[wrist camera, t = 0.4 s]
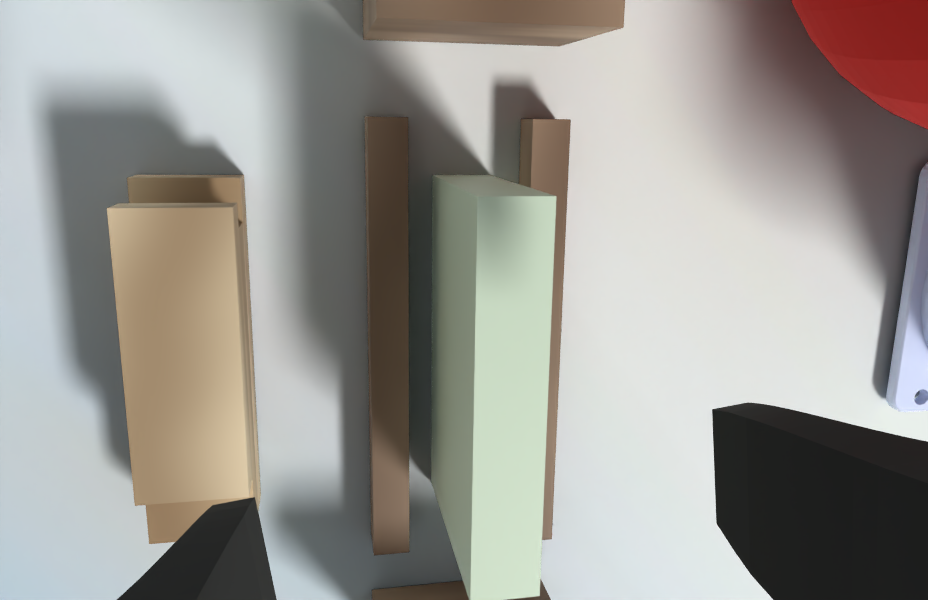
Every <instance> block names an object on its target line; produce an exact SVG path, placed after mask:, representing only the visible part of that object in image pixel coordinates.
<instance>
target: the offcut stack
mask: <svg viewBox="0 0 928 600" xmlns="http://www.w3.org/2000/svg"><path fill="white" fill-rule="evenodd" d="M127 184H128V196H129V203H118V204H116V205H113V206H111V207H109V208H107V215H108V226H109V237H110V247H111V258H112V268H113V279H114V290H115V300H116V311H117V321H118V332H119V343H120V353H121V364H122V374H123V385H124V396H125V406H126V417H127V427H128V438H129V449H130V459H131V470H132V480H133V491H134V501H135V506H138V505H146V513H147V524H148V535H149V544H155V543H167V542H176V541H177V540H178V539H179V538H180V537H181V536H182V535H183V534H184V533H185V532H186V531H187V530H188V529H189V528H190V526H191V525H192V524H193V523H194V522H195V521H196V520H197V519H198V518H199V517H200V516H201V515H202V514H203V513H204V512H205V511H206V510H207V509H209V508H210V507H211V506H212V505H216V504H221V503H226V502H231V501H237V500H242V499H247V498H252V497H255V500H256V504H257V509H258V510H259V503H260V496H261V492H260V473H259V454H258V435H257V416H256V397H255V377H254V358H253V339H252V320H251V301H250V282H249V263H248V243H247V224H246V205H245V186H244V175H134V176H131V177H128V178H127Z"/></svg>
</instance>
